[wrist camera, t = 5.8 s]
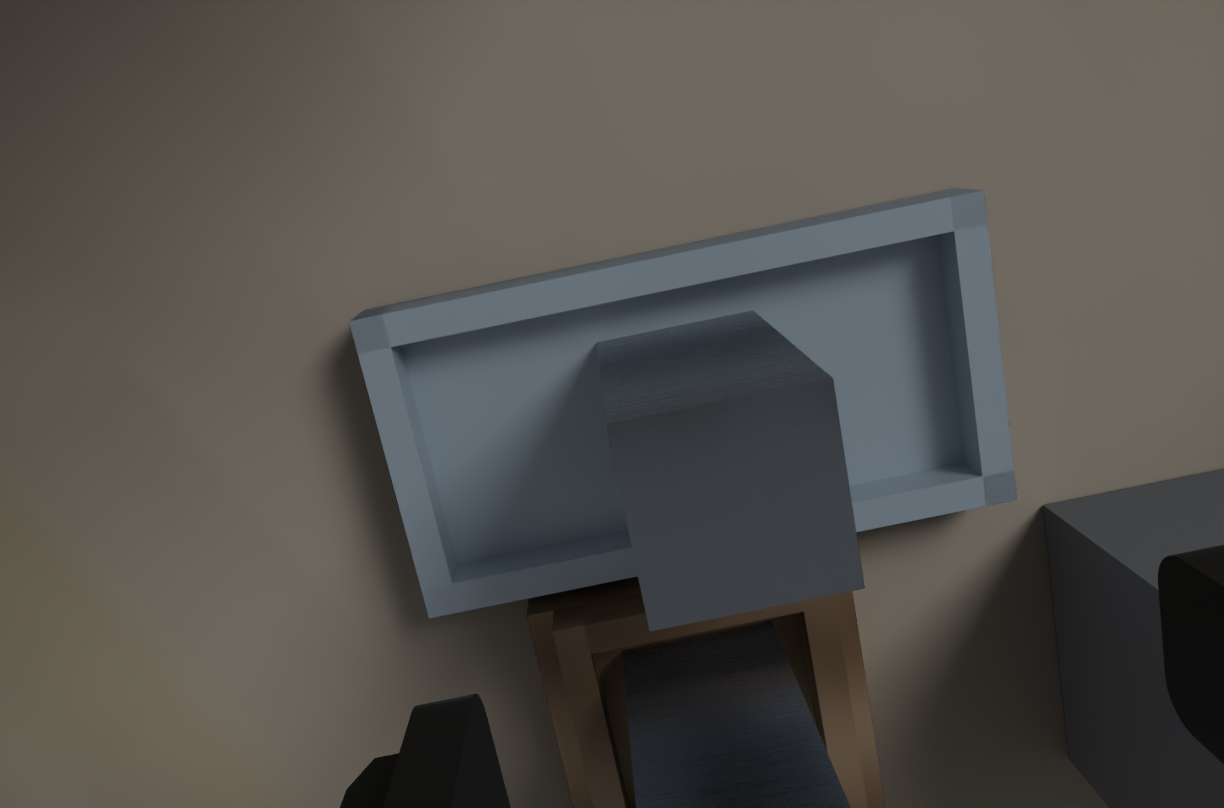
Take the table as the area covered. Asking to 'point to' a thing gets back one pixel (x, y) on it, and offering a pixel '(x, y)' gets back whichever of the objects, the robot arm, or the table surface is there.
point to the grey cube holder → (1129, 639)
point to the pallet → (616, 620)
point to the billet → (728, 469)
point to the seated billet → (724, 725)
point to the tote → (666, 297)
